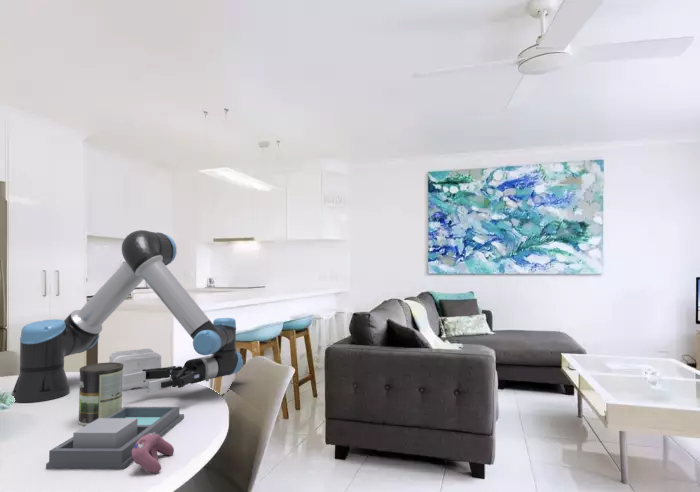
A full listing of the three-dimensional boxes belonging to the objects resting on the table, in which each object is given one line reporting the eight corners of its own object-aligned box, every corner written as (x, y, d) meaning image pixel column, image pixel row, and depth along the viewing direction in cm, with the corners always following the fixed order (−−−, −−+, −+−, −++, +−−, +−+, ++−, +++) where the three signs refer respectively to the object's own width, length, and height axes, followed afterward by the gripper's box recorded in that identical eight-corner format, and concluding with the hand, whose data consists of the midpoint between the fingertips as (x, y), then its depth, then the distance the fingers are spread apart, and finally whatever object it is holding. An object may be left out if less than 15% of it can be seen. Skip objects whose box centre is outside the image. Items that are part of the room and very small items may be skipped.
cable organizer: (155, 379, 161) (156, 347, 162) (161, 386, 152) (161, 352, 153) (108, 386, 153) (109, 352, 154) (111, 393, 144) (112, 357, 145)
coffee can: (74, 428, 112) (76, 372, 113) (81, 416, 121) (82, 364, 122) (120, 422, 116) (121, 368, 117) (123, 411, 125) (124, 360, 126)
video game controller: (157, 461, 96) (142, 432, 96) (176, 451, 96) (162, 422, 96) (139, 483, 86) (123, 451, 86) (161, 471, 87) (145, 439, 87)
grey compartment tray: (45, 468, 89) (46, 438, 90) (125, 417, 120) (125, 395, 120) (124, 468, 89) (125, 438, 89) (183, 417, 119) (184, 395, 120)
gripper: (224, 387, 136) (160, 404, 119) (177, 376, 151) (114, 390, 134) (224, 362, 137) (160, 376, 119) (177, 353, 151) (114, 365, 134)
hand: (135, 383), depth 126 cm, fingers open, 13 cm apart
